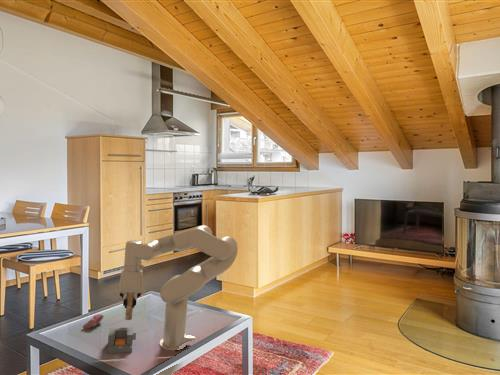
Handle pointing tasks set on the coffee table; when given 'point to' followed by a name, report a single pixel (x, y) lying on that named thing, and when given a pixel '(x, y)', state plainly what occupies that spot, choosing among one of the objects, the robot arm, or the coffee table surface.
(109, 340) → the switch box
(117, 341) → the button
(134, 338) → the mat
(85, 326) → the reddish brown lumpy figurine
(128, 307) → the stylus
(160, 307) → the coffee table surface
